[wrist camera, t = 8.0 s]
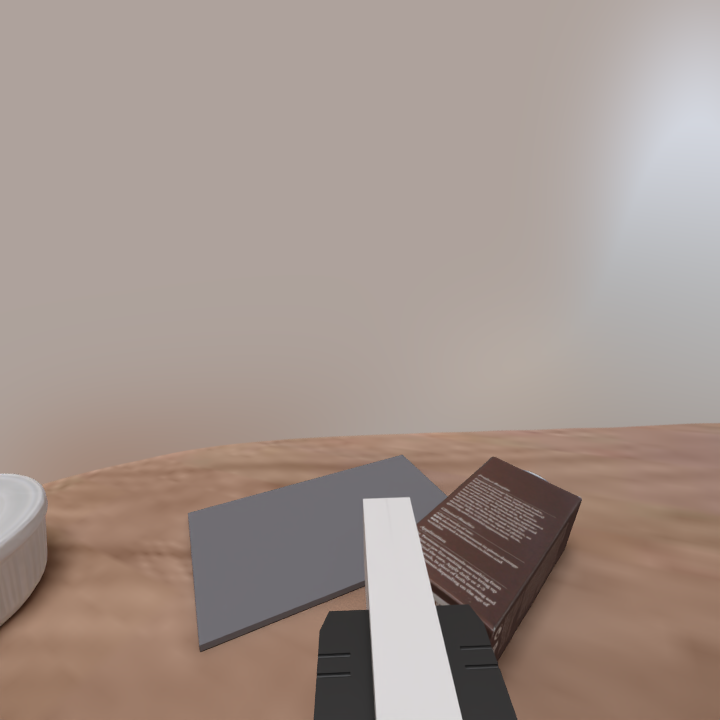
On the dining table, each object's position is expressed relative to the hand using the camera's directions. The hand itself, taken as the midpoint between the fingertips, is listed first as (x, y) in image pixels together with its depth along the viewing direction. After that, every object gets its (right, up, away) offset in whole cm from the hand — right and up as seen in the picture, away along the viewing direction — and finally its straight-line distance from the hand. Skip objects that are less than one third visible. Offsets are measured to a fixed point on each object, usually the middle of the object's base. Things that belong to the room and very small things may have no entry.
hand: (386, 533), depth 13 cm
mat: (-3, -6, +15) cm, 17 cm away
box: (+2, -7, +6) cm, 9 cm away
